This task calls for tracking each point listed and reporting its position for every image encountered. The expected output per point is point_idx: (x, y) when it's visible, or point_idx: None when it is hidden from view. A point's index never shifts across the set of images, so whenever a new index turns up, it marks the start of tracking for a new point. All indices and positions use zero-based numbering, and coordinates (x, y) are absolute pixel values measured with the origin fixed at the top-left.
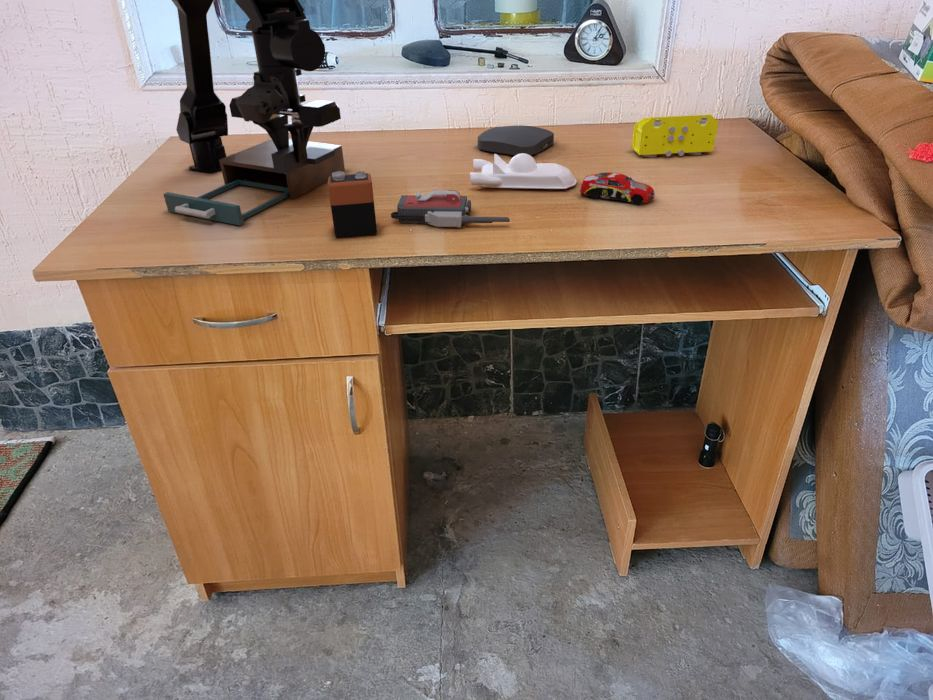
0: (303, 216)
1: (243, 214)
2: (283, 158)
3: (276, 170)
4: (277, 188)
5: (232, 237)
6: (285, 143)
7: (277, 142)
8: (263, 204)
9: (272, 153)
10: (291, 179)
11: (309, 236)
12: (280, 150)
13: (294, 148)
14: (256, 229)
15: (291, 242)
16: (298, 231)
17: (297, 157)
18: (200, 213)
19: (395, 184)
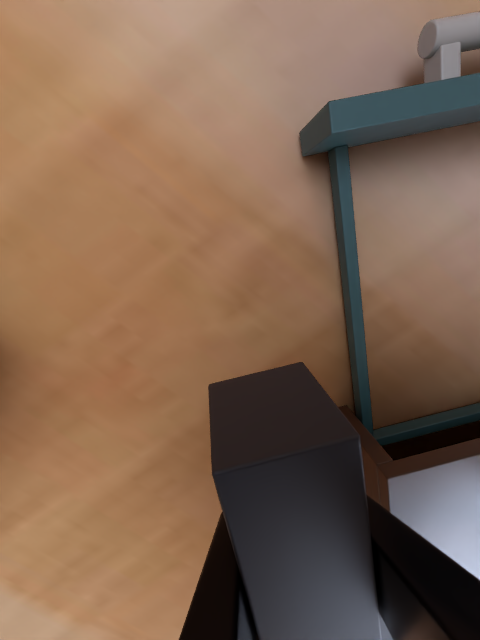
0: (186, 336)
1: (343, 188)
2: (217, 450)
3: (286, 370)
4: (426, 421)
5: (238, 36)
6: (401, 630)
7: (432, 603)
8: (353, 299)
9: (349, 443)
10: (365, 455)
11: (4, 228)
12: (350, 528)
13: (222, 616)
14: (226, 155)
15: (3, 144)
16: (81, 236)
17: (218, 542)
18: (464, 15)
19: (167, 632)
